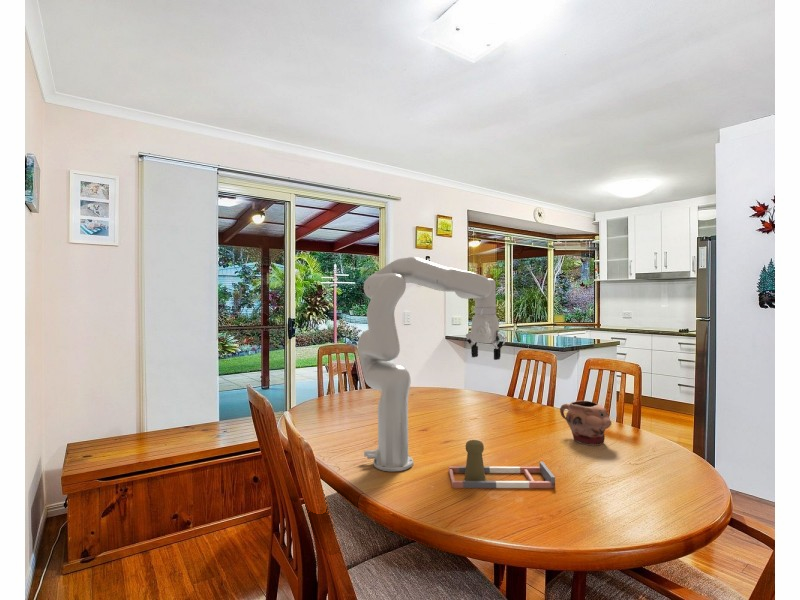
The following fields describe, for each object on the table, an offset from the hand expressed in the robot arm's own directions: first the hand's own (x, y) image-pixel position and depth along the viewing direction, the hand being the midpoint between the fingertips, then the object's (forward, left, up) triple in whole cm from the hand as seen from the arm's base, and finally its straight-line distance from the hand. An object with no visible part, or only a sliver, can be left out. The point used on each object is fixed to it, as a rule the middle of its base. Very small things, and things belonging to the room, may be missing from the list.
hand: (485, 358), depth 157 cm
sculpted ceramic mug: (+35, -3, -30) cm, 46 cm away
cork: (-9, -36, -30) cm, 48 cm away
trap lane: (-2, -36, -30) cm, 47 cm away
